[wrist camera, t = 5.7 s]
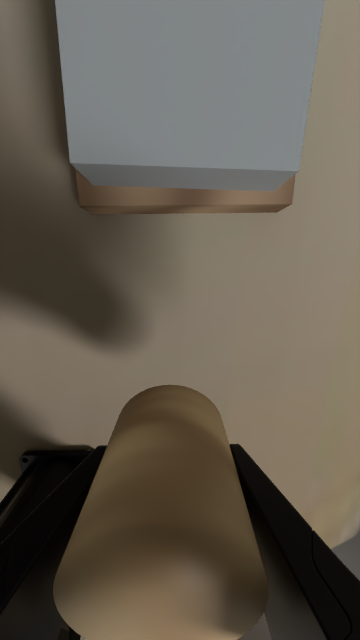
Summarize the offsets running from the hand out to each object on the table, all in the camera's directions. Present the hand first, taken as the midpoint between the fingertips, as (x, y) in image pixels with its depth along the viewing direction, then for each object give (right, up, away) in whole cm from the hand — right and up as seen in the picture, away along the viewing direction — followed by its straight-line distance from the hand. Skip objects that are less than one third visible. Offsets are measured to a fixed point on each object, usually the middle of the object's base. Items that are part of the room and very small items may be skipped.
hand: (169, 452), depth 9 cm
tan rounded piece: (0, 0, +1) cm, 1 cm away
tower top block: (+1, +18, +1) cm, 18 cm away
